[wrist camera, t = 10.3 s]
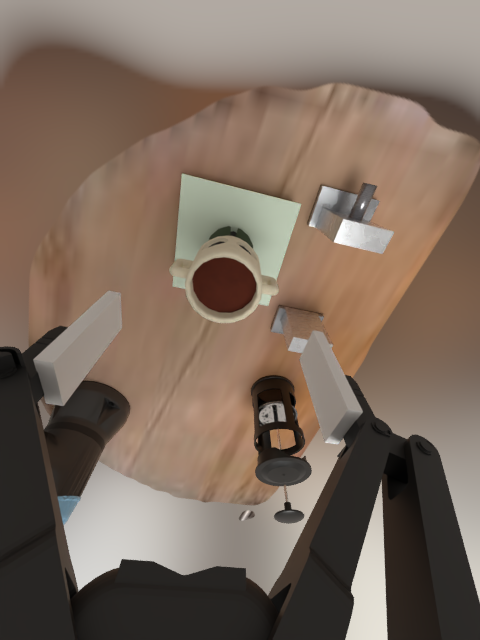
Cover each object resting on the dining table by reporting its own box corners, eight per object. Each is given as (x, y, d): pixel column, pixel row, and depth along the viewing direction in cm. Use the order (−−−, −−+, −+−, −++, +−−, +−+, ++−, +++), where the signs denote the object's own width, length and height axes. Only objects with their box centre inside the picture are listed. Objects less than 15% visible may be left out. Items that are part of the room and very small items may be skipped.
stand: (178, 276, 39) (172, 286, 36) (188, 173, 32) (181, 173, 28) (265, 294, 41) (268, 306, 37) (295, 200, 33) (301, 204, 30)
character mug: (276, 231, 32) (294, 265, 20) (262, 281, 35) (271, 333, 24) (192, 212, 30) (164, 238, 19) (187, 266, 34) (160, 313, 23)
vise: (270, 328, 44) (276, 361, 37) (324, 174, 32) (350, 176, 24) (311, 336, 45) (325, 370, 38) (380, 189, 32) (423, 196, 25)
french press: (264, 367, 50) (279, 497, 30) (304, 381, 52) (341, 511, 32) (240, 402, 55) (239, 530, 36) (277, 413, 57) (294, 540, 38)
